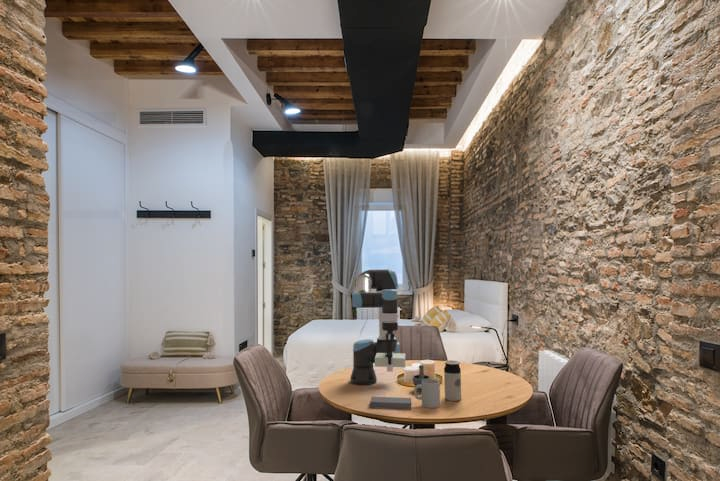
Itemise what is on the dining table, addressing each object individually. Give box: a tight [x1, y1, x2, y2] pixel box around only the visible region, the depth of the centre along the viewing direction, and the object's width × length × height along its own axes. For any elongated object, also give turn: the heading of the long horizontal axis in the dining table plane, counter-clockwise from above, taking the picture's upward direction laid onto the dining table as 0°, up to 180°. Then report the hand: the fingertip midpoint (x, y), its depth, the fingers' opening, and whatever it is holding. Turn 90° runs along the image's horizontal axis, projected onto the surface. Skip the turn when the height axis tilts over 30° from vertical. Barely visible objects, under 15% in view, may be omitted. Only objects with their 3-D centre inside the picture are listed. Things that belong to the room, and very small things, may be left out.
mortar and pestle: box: [412, 364, 432, 393], centre depth 217 cm, size 11×9×12 cm
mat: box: [369, 396, 412, 410], centre depth 192 cm, size 8×19×2 cm, turn 83°
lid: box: [374, 352, 406, 368], centre depth 193 cm, size 11×14×4 cm
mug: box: [413, 378, 441, 409], centre depth 192 cm, size 12×8×11 cm
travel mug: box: [443, 359, 462, 402], centre depth 201 cm, size 8×8×18 cm
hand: (390, 368), depth 193 cm, fingers closed on lid, 11 cm apart
